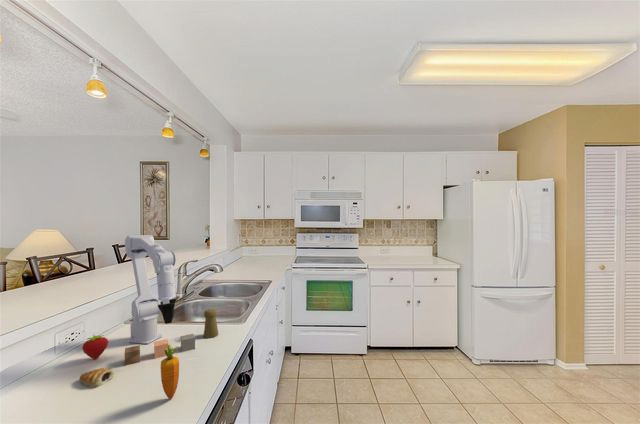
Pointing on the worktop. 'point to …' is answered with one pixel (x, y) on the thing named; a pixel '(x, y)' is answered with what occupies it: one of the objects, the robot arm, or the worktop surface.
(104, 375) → the pastry
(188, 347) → the gray cube
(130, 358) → the walnut cube
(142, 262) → the robot arm
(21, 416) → the worktop surface
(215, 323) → the pepper mill
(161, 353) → the terracotta cube
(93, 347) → the strawberry
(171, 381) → the carrot
